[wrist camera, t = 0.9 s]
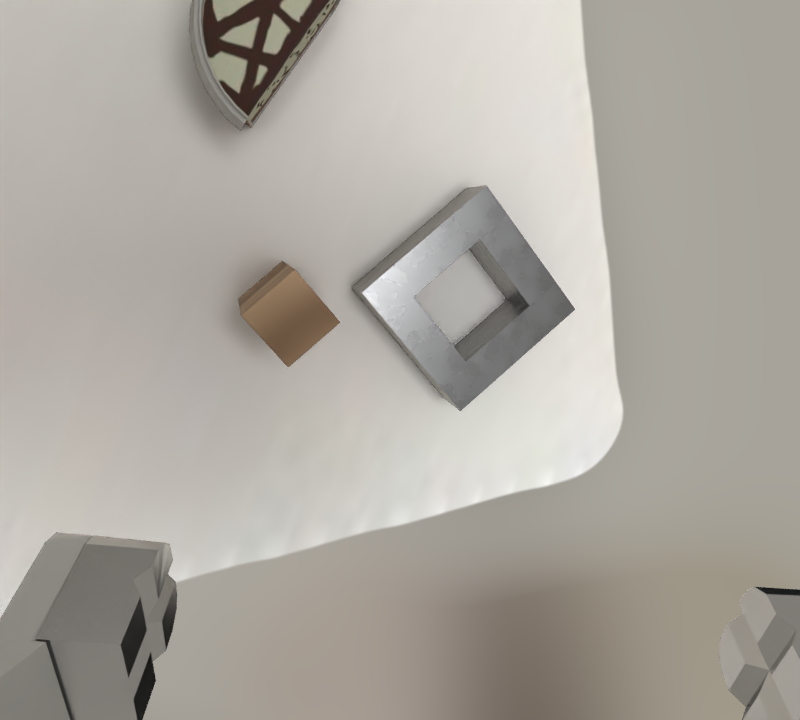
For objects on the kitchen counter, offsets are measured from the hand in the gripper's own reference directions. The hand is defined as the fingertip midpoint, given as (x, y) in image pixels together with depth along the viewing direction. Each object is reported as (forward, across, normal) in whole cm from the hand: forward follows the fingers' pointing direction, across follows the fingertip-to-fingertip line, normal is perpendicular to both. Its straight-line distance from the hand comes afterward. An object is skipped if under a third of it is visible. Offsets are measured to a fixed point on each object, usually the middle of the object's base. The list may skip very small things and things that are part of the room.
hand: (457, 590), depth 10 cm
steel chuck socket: (+39, -4, +16) cm, 42 cm away
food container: (+42, +11, 0) cm, 44 cm away
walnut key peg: (+36, +9, +16) cm, 40 cm away
